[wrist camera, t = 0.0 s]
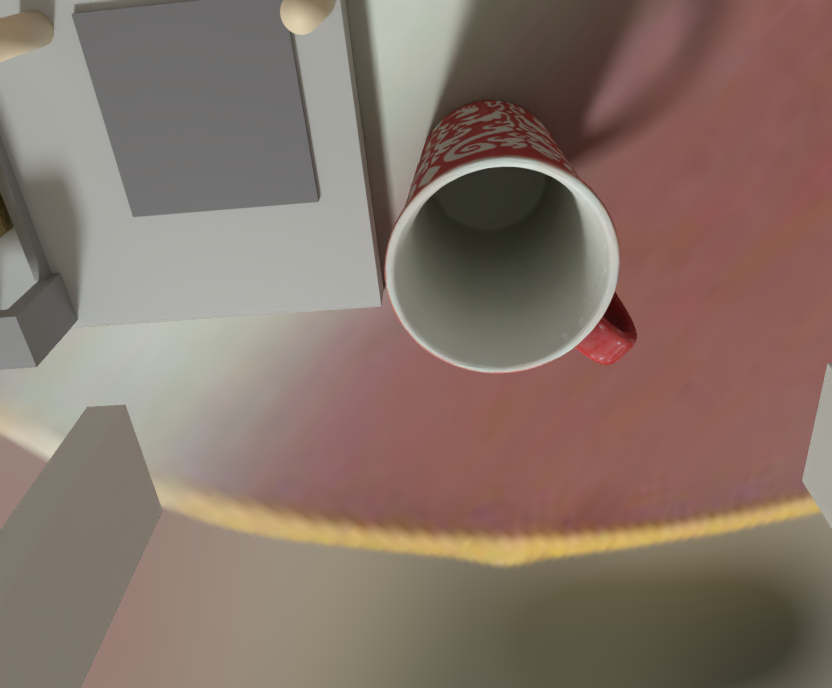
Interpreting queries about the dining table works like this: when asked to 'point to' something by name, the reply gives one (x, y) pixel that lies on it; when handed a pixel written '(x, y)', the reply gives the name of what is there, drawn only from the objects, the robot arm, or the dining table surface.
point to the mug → (504, 249)
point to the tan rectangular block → (4, 218)
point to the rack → (178, 165)
